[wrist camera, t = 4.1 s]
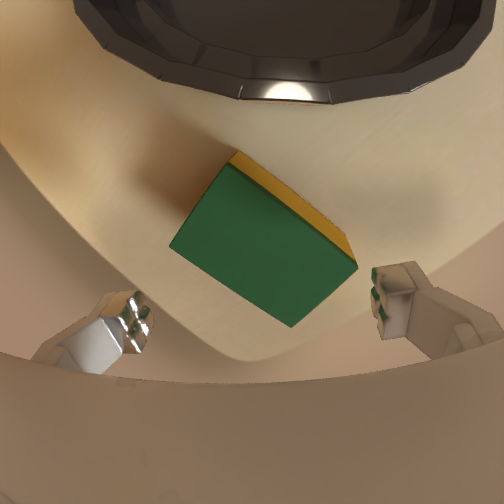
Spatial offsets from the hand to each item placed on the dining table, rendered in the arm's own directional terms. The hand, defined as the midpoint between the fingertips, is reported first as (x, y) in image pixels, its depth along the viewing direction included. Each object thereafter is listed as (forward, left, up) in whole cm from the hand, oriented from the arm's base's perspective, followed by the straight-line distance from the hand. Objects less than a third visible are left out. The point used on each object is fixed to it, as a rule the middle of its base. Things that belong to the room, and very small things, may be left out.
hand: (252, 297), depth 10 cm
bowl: (+8, -12, -6) cm, 16 cm away
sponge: (0, 0, -6) cm, 6 cm away
